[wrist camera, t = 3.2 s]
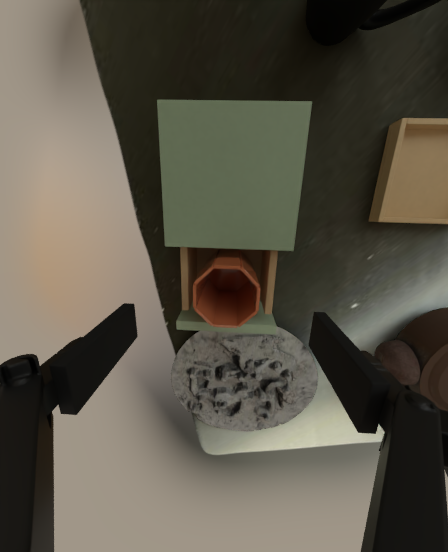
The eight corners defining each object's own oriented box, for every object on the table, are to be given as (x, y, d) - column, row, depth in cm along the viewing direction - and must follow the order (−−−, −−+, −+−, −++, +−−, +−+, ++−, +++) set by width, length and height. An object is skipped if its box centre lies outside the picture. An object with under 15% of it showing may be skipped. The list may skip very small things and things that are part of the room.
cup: (253, 248, 28) (262, 267, 19) (250, 292, 30) (257, 329, 21) (206, 246, 29) (192, 264, 19) (206, 290, 30) (193, 326, 21)
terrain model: (339, 336, 33) (355, 362, 28) (286, 424, 43) (291, 453, 39) (183, 304, 31) (174, 326, 27) (167, 402, 42) (159, 430, 38)
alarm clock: (474, 281, 30) (340, 344, 34) (546, 303, 23) (366, 378, 27) (502, 355, 33) (376, 404, 37) (572, 393, 26) (407, 449, 30)
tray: (486, 126, 25) (508, 119, 23) (453, 223, 28) (470, 224, 26) (389, 125, 25) (402, 117, 23) (367, 221, 29) (378, 221, 27)
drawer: (266, 315, 32) (274, 343, 25) (189, 311, 33) (176, 338, 26) (274, 230, 29) (286, 236, 22) (187, 227, 29) (172, 233, 22)
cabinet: (276, 239, 30) (293, 251, 21) (184, 236, 30) (164, 246, 22) (286, 137, 26) (312, 100, 18) (182, 136, 27) (156, 99, 18)
